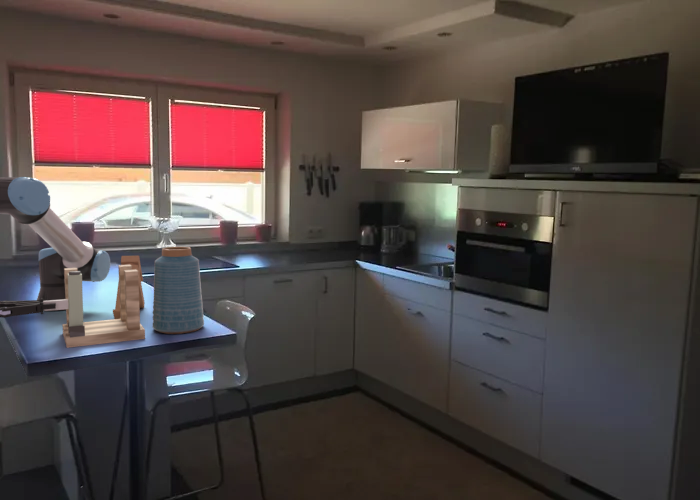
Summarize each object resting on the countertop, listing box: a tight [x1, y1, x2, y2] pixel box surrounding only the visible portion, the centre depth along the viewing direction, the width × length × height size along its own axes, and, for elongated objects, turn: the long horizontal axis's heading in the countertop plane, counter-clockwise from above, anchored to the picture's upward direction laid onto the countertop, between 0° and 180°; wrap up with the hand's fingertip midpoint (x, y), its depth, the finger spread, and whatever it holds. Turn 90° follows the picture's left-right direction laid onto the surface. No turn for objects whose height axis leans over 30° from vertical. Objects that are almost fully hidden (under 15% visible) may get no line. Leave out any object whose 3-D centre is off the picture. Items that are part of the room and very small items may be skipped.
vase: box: [152, 246, 205, 335], centre depth 198 cm, size 16×16×27 cm
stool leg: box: [68, 271, 84, 327], centre depth 179 cm, size 4×4×17 cm
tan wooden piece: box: [112, 255, 145, 319], centre depth 218 cm, size 7×23×25 cm
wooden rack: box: [62, 264, 146, 349], centre depth 189 cm, size 18×22×21 cm
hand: (68, 304), depth 178 cm, fingers closed
